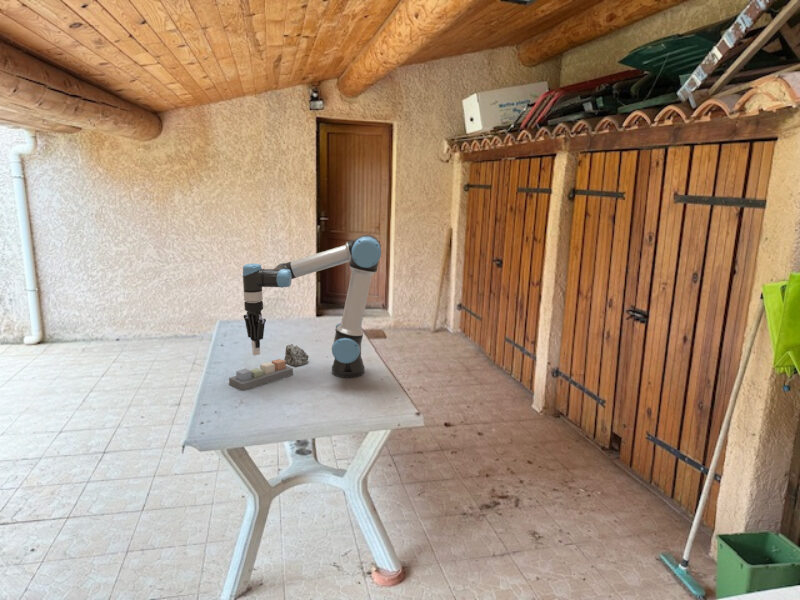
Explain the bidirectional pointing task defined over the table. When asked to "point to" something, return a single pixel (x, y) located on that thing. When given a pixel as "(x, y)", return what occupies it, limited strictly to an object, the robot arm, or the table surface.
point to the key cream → (267, 367)
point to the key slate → (243, 375)
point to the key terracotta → (279, 364)
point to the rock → (295, 355)
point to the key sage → (256, 372)
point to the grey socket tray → (260, 379)
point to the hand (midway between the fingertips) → (256, 354)
